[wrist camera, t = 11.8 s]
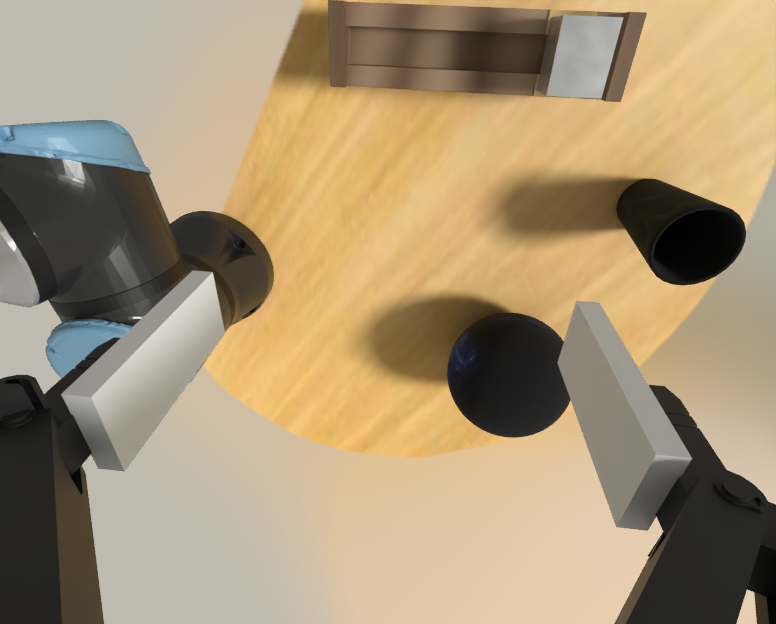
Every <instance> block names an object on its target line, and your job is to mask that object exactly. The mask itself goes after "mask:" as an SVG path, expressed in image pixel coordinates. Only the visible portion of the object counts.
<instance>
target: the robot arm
mask: <svg viewBox="0 0 776 624" xmlns="http://www.w3.org/2000/svg"><path fill="white" fill-rule="evenodd" d="M149 174H151V173H150V170H149V169H148V167H146V166H145V165H144V163H143V161H142V159H141V156H140V154H139V152H138V150H137V148H136V146H135V144H134V141H133V139H132V137H131V136H130V134H129V133H128V132H127V131H126V130H125V129H124V128H123V127H122V126H120V125H118V124H116V123H114V122H111V121H107V120H87V121H68V122H50V123H35V124H21V125H11V126H0V302H3V303H8V304H14V305H18V306H23V307H32V306H35V305H38V304H40V303H42V302H44V301H46V300H49V302H50V303H51V305H52V307H53V308H54V310H55V312H56V313H57V315H58V316H59V318H60V320H61V321H62V323H61V324H59V325H58V326H56V327H55V329H53V330H52V332H51V335H50V337H49V338H48V340H47V344H48V345H47V347H46V355H47V358H48V360H49V362H50V364H51V366H52V368H53V369H54V370H55V372H56V373H57V374H58V375H59V376H60V377H61V378H62V379H61V380H60V381H58V382H57V383H56V384H55V385H54V386H53V387H52V388H51V389H50V390H48V391H47V392H46V393H45V394H43V392H42V390H41V388H40V386H39V384H38V382H37V380H36V378H34V377H31V376H29V375H15V376H10V377H5V378H2V379H0V624H104V620H103V612H102V604H101V596H100V588H99V579H98V571H97V563H96V555H95V547H94V539H93V531H92V522H91V515H90V508H89V507H90V506H89V498H88V490H87V483H86V474H85V471H84V470H83V468H82V466H81V465H82V464H83V463H84V462H85V460H86V459H87V458H88V457H89V455H90V454H91V455H92V457H93V459H94V461H95V463H96V465H97V467H98V468H100V469H109V470H118V471H125V470H126V469H127V467H128V466H129V464H130V463H131V462H132V460H133V459H134V458H135V456H136V455H137V453H138V452H139V451H140V449H141V448H142V447H143V445H144V444H145V442H146V441H147V440H148V438H149V437H150V436H151V434H152V433H153V432H154V430H155V429H156V427H157V426H158V425H159V423H160V422H161V420H162V419H163V418H164V416H165V415H166V414H167V412H168V411H169V410H170V408H171V407H172V405H173V404H174V403H175V401H176V400H177V398H178V397H179V396H180V394H181V393H182V392H183V390H184V389H185V387H186V386H187V385H188V383H190V382H191V381H192V380H193V379H194V377H195V375H196V374H197V372H198V371H199V369H200V368H201V367H202V365H203V364H204V362H205V361H206V359H207V358H208V356H209V355H210V354H211V352H212V351H213V349H214V348H215V346H216V345H217V344H218V342H219V341H220V340H221V338H222V337H223V335H224V334H225V332H226V331H227V329H228V328H229V327H230V326H231V325H233V324H235V323H237V322H239V321H241V320H242V319H244V318H246V317H248V316H250V315H252V314H253V313H254V312H256V311H257V310H258V309H259V308H260V307H261V305H262V304H263V303H264V301H265V300H266V298H267V297H268V295H269V293H270V291H271V289H272V285H273V279H274V272H273V266H272V262H271V259H270V256H269V254H268V252H267V250H266V248H265V246H264V245H263V243H262V242H261V241H260V239H259V238H258V237H257V236H256V235H255V234H254V233H253V232H252V231H251V230H250V229H249V228H247V227H246V226H245V225H243V224H242V223H240V222H239V221H237V220H235V219H233V218H231V217H229V216H226V215H223V214H220V213H216V212H210V211H198V212H192V213H188V214H186V215H183V216H181V217H180V218H178V219H177V220H175V221H174V222H172V223H171V224H169V221H168V219H167V217H166V214H165V212H164V209H163V207H162V205H161V202H160V200H159V197H158V195H157V192H156V190H155V188H154V185H153V183H152V180H151V178H150V175H149ZM557 363H558V366H559V369H560V371H561V374H562V377H563V380H564V382H565V385H566V388H567V391H568V394H569V396H570V399H571V402H572V405H573V407H574V410H575V413H576V416H577V419H578V421H579V424H580V427H581V430H582V432H583V435H584V438H585V441H586V444H587V446H588V449H589V452H590V455H591V458H592V460H593V463H594V466H595V469H596V471H597V474H598V477H599V480H600V483H601V485H602V488H603V491H604V494H605V497H606V499H607V502H608V504H609V508H610V510H611V513H612V516H613V519H614V522H615V524H616V527H621V528H631V529H638V530H648V529H649V527H650V526H651V524H652V523H653V521H654V519H655V518H656V516H657V518H658V521H659V523H660V525H661V527H662V530H663V533H662V535H661V536H660V538H659V539H658V541H657V543H656V544H655V546H654V547H653V549H652V550H651V552H650V553H649V555H648V556H649V559H648V561H647V563H646V564H645V567H644V568H643V570H642V572H641V574H640V576H639V578H638V580H637V582H636V583H635V585H634V587H633V589H632V591H631V593H630V595H629V597H628V599H627V601H626V603H625V604H624V606H623V608H622V610H621V612H620V614H619V616H618V618H617V620H616V622H615V624H736V623H737V619H738V616H739V613H740V609H741V606H742V603H743V599H744V597H745V593H746V590H747V589H748V590H750V591H753V592H754V593H755V605H756V617H757V624H776V505H775V504H773V503H770V502H768V501H767V499H766V497H765V496H764V494H763V493H762V492H761V491H760V490H758V488H757V487H756V486H755V485H753V484H752V483H751V482H749V481H748V480H746V479H745V478H743V477H742V476H740V475H737V474H735V473H732V472H730V471H728V470H726V468H725V467H724V465H723V464H722V462H721V461H720V459H719V458H718V456H717V455H716V453H715V452H714V450H713V449H712V447H711V446H710V444H709V443H708V441H707V440H706V438H705V437H704V435H703V434H702V432H701V431H700V429H699V428H697V425H696V423H695V421H694V420H693V418H692V417H691V416H689V412H688V411H687V409H686V408H685V406H684V405H683V403H682V402H681V400H680V399H679V398H677V397H676V396H675V395H674V394H673V393H672V392H671V391H669V390H668V389H667V388H666V387H665V386H655V385H648V384H647V382H646V380H645V379H644V377H643V375H642V374H641V372H640V370H639V369H638V367H637V365H636V364H635V362H634V360H633V359H632V357H631V355H630V354H629V352H628V350H627V348H626V347H625V345H624V343H623V342H622V340H621V338H620V337H619V335H618V333H617V332H616V330H615V328H614V327H613V325H612V323H611V322H610V320H609V318H608V317H607V315H606V313H605V312H604V310H603V308H602V307H601V305H600V303H595V302H583V301H576V305H575V308H574V311H573V314H572V318H571V321H570V324H569V327H568V330H567V334H566V337H565V340H564V343H563V346H562V350H561V353H560V356H559V359H558V362H557Z"/></svg>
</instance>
